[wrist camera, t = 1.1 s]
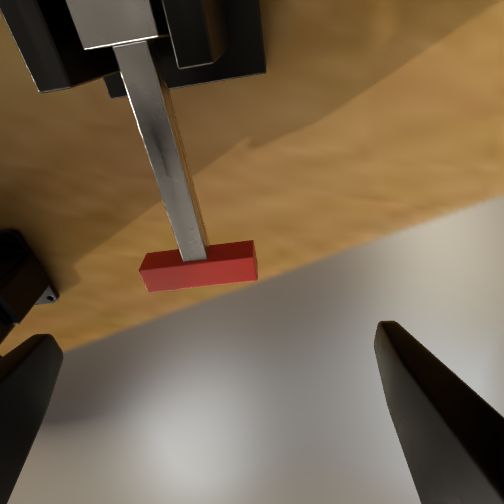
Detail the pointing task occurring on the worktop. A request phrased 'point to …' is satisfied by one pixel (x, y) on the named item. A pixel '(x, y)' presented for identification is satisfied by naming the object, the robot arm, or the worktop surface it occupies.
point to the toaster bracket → (170, 48)
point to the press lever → (161, 144)
